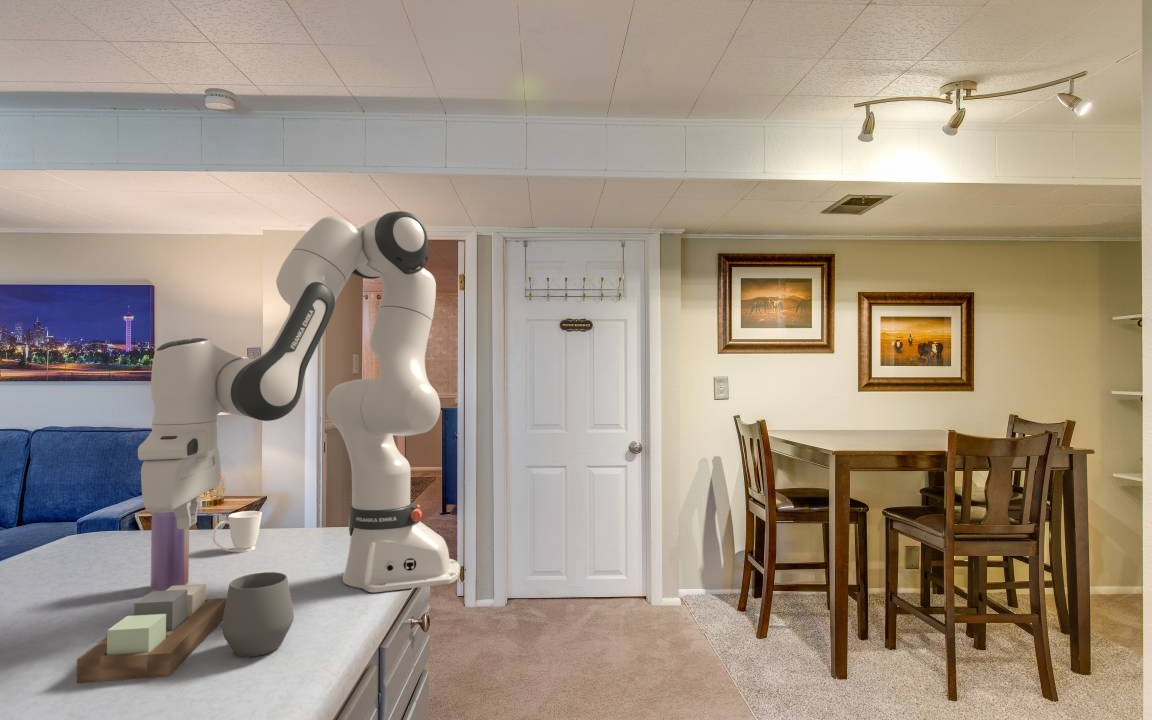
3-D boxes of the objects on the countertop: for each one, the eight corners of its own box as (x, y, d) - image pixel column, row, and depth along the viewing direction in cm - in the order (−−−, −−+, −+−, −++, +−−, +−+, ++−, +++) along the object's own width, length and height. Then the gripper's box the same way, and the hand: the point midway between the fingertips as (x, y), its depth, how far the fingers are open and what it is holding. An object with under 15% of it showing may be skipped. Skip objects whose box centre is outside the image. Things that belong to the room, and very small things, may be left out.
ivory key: (205, 611, 104) (205, 584, 104) (192, 623, 99) (192, 594, 99) (171, 613, 103) (172, 585, 103) (156, 625, 98) (157, 596, 98)
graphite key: (186, 618, 97) (187, 589, 97) (172, 631, 92) (172, 601, 92) (150, 620, 96) (151, 591, 96) (133, 634, 91) (134, 603, 91)
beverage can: (170, 594, 115) (171, 511, 115) (142, 591, 116) (143, 509, 116) (196, 583, 121) (197, 504, 121) (169, 581, 122) (170, 503, 122)
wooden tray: (227, 615, 105) (227, 597, 105) (169, 675, 84) (169, 653, 84) (153, 620, 103) (154, 601, 103) (76, 682, 82) (76, 659, 82)
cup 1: (265, 550, 143) (266, 514, 144) (215, 558, 137) (216, 521, 137) (257, 543, 149) (258, 509, 149) (209, 551, 142) (209, 515, 142)
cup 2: (217, 668, 87) (218, 594, 87) (224, 641, 95) (225, 574, 95) (293, 656, 90) (294, 585, 90) (293, 631, 99) (294, 567, 99)
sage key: (165, 645, 90) (166, 613, 90) (148, 660, 85) (148, 627, 85) (126, 647, 89) (127, 616, 89) (106, 663, 84) (107, 630, 84)
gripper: (190, 432, 111) (192, 511, 111) (131, 450, 91) (133, 546, 91) (230, 431, 112) (231, 509, 112) (179, 448, 92) (181, 543, 92)
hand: (187, 526), depth 101 cm, fingers closed
